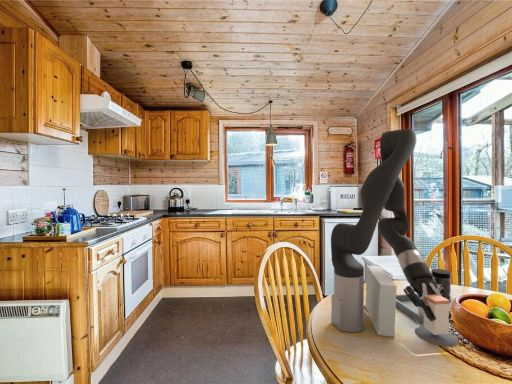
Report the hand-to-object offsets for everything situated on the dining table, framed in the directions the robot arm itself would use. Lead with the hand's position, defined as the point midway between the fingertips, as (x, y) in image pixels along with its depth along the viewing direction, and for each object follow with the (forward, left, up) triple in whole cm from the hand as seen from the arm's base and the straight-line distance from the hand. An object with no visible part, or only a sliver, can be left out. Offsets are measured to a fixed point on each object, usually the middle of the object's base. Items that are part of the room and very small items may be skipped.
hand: (441, 319), depth 82 cm
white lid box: (+9, +14, -6) cm, 17 cm away
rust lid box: (0, +2, -4) cm, 5 cm away
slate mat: (0, +2, -6) cm, 7 cm away
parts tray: (+9, +18, -6) cm, 21 cm away
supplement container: (+27, +27, -7) cm, 39 cm away
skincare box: (-10, +15, -7) cm, 19 cm away
